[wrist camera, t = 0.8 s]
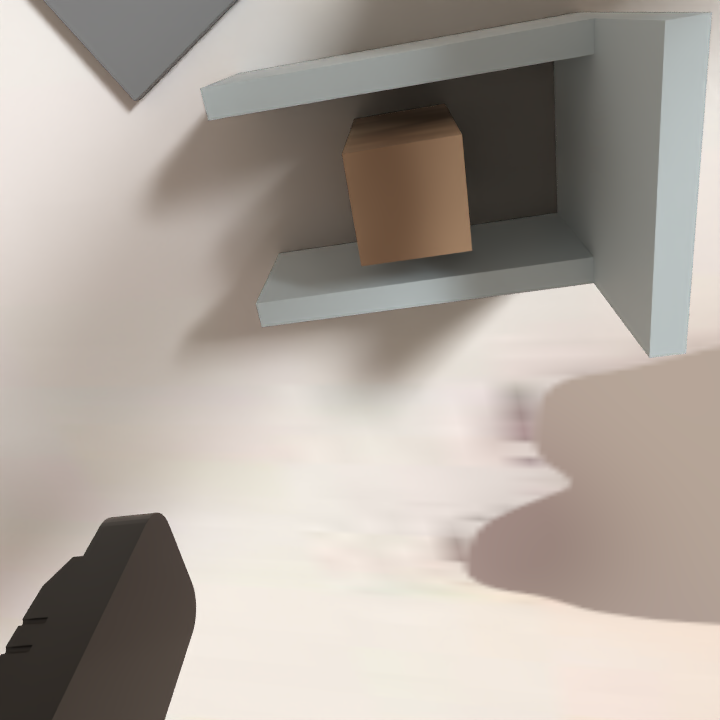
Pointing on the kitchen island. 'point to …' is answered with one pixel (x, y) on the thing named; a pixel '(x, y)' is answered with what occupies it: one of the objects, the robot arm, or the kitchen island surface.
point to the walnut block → (407, 185)
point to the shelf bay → (573, 168)
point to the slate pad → (139, 34)
